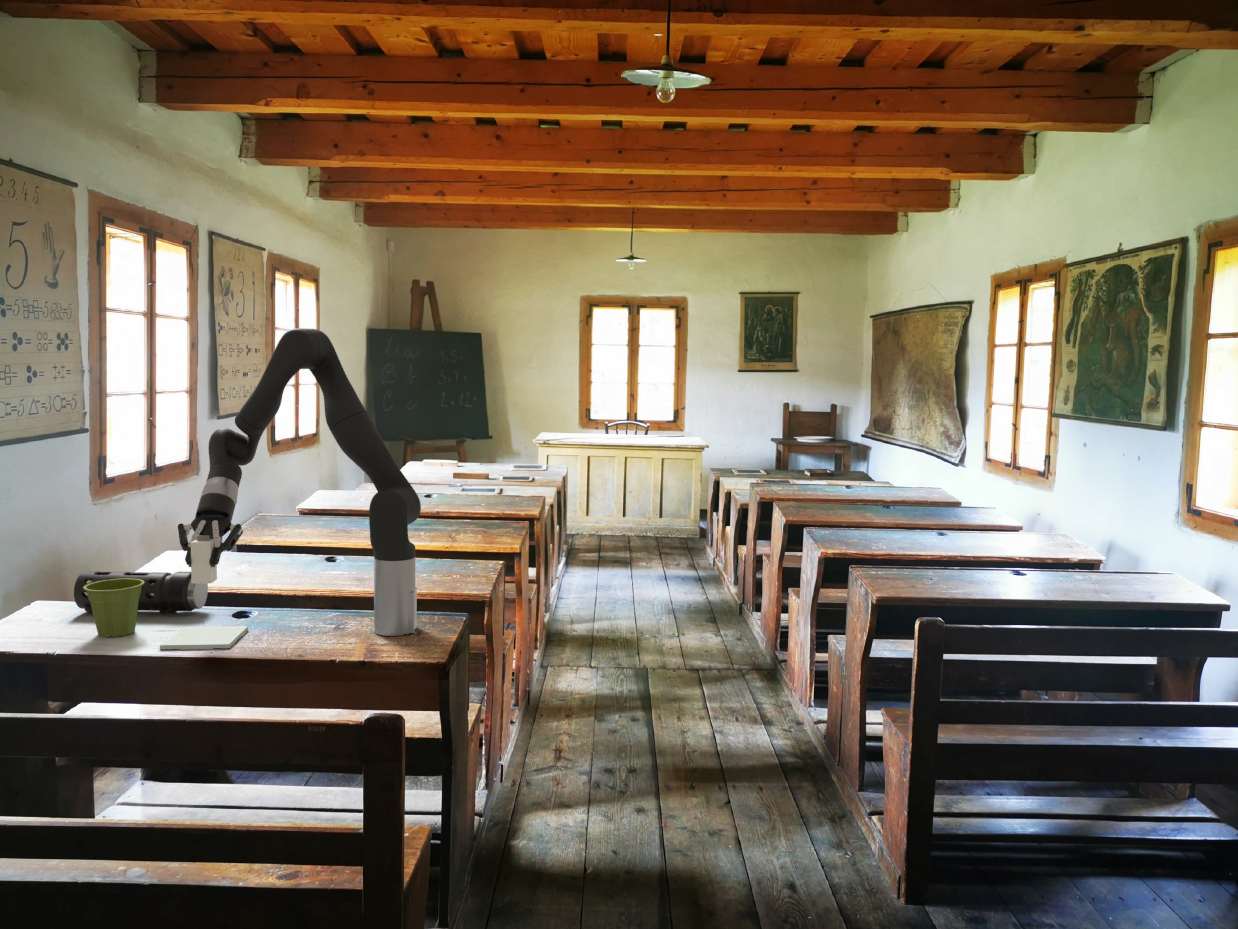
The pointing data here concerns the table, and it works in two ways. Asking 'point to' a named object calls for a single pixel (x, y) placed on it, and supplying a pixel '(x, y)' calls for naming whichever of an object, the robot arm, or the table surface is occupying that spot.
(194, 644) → the board
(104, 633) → the plant pot
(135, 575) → the muzzle brake
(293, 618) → the table surface
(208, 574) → the plug block
